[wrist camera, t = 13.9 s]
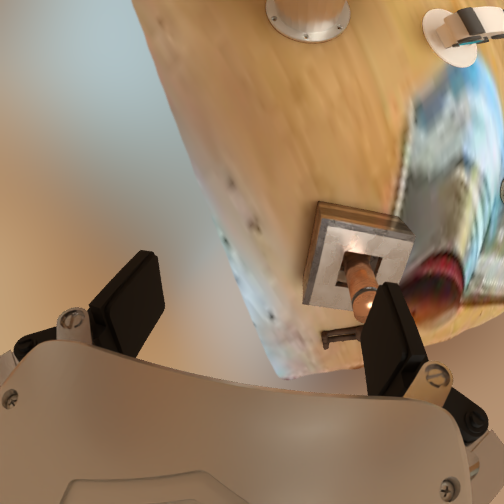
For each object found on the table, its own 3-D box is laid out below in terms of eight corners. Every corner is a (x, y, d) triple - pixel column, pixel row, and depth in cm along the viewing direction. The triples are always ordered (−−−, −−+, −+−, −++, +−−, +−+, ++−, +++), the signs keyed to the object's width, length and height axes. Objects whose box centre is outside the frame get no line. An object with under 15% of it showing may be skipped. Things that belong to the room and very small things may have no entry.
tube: (341, 234, 44) (359, 293, 29) (364, 238, 44) (391, 298, 29) (336, 256, 46) (349, 321, 31) (358, 260, 46) (379, 325, 31)
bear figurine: (315, 311, 49) (394, 300, 44) (317, 297, 52) (391, 287, 47) (327, 372, 56) (392, 365, 51) (328, 358, 59) (390, 351, 54)
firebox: (318, 200, 43) (321, 217, 35) (398, 217, 41) (415, 236, 34) (303, 276, 49) (302, 304, 42) (376, 288, 48) (385, 315, 41)
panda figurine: (439, 73, 29) (491, 61, 16) (407, 13, 25) (445, -21, 12) (485, 63, 25) (537, 56, 12) (456, 7, 21) (499, -16, 8)
